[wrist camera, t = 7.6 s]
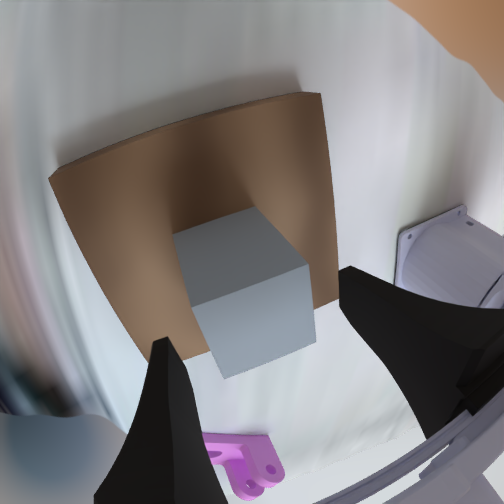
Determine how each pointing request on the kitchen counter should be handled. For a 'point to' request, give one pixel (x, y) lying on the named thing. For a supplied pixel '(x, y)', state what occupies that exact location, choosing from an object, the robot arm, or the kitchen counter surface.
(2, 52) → the kitchen counter surface
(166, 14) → the kitchen counter surface
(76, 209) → the walnut board
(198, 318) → the slate block
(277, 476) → the bracket
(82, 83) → the kitchen counter surface
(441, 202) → the kitchen counter surface
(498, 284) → the robot arm
